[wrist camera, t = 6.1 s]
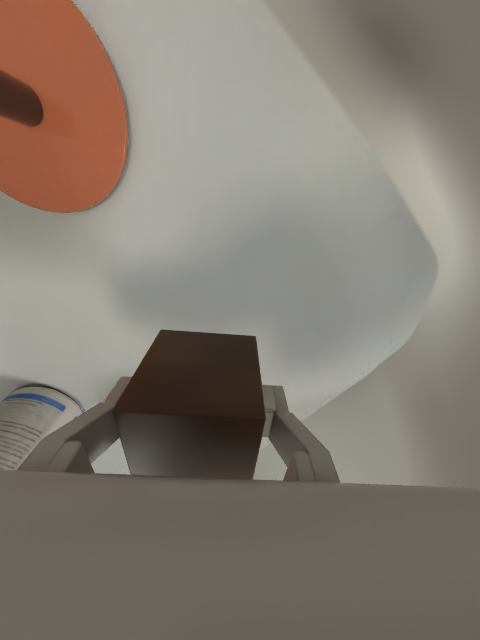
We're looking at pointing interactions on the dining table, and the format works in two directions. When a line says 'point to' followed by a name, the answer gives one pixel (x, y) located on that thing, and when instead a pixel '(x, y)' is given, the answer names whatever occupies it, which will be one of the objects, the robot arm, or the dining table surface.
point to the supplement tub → (31, 421)
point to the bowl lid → (57, 108)
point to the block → (194, 407)
